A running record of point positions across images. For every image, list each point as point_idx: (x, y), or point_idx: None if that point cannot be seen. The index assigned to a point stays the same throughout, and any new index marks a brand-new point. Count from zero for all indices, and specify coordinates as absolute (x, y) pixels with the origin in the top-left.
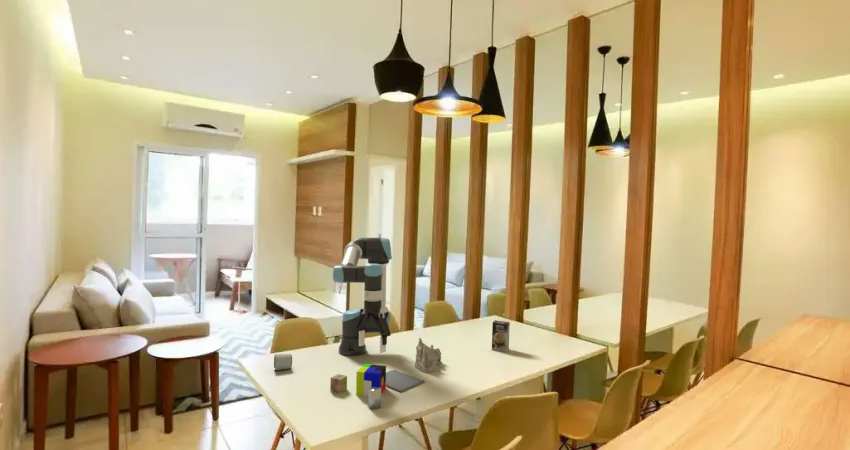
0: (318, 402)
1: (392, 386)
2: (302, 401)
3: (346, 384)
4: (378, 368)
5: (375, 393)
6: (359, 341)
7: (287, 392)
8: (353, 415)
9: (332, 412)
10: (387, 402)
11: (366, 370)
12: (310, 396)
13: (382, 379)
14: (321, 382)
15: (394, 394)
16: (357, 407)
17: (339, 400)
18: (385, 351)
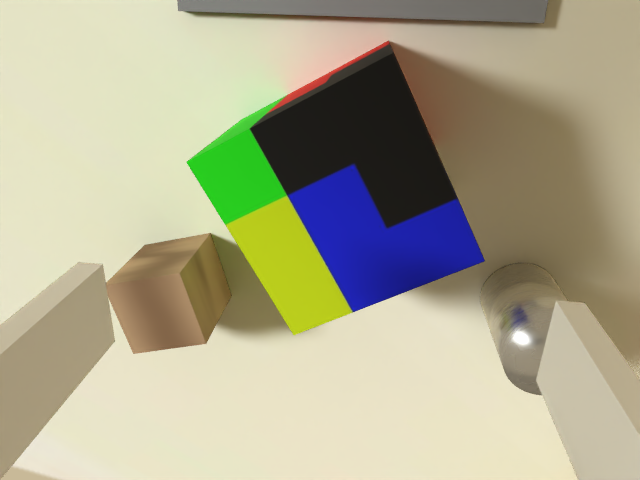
0: (244, 415)
1: (436, 6)
2: (183, 444)
3: (201, 251)
4: (382, 164)
5: None
6: (69, 383)
7: (46, 424)
8: (488, 414)
9: (381, 443)
10: (552, 210)
11: (333, 270)
12: (157, 396)
13: (433, 143)
14: (20, 256)
15: (518, 84)
16: (442, 351)
17: (302, 349)
18: (583, 308)
